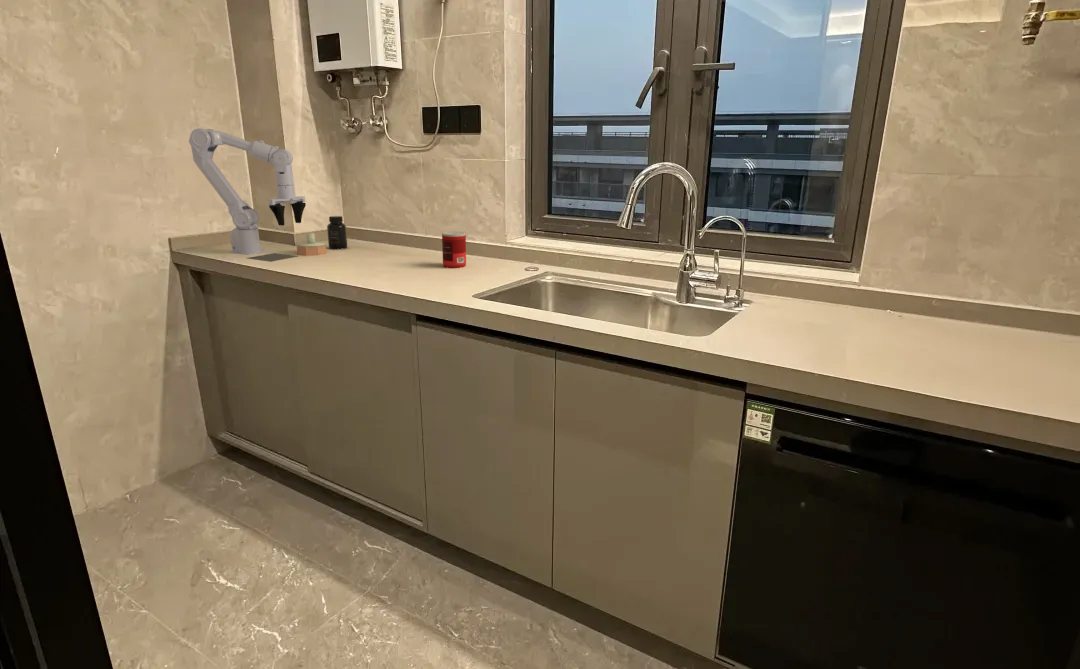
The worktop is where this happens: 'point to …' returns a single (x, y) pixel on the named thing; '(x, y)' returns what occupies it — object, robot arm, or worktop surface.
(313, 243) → the lid
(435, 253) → the worktop surface
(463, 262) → the canned food
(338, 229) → the supplement bottle
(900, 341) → the worktop surface
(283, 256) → the mat
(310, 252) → the bowl
